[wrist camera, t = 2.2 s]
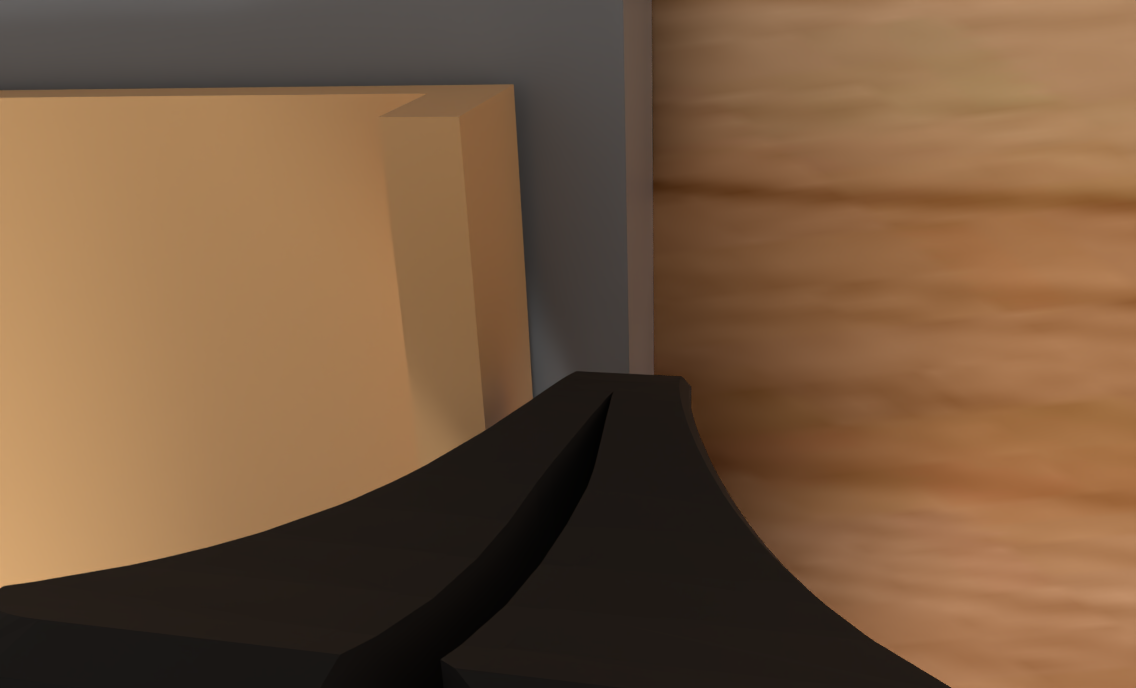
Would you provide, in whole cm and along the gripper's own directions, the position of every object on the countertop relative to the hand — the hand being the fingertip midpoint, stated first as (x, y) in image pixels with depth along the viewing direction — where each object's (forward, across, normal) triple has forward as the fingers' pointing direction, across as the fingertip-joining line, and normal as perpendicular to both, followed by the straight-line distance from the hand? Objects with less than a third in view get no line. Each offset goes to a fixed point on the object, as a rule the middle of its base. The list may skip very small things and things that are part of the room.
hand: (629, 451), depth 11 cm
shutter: (+1, +6, 0) cm, 6 cm away
